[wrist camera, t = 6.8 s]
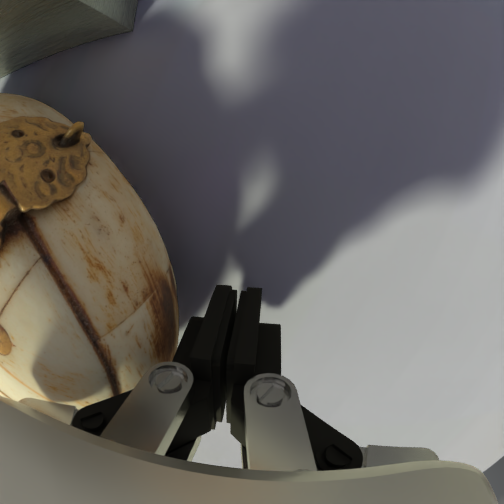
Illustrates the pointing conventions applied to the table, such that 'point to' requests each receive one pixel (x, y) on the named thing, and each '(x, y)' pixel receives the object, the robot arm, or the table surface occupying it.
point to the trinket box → (75, 266)
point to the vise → (57, 27)
